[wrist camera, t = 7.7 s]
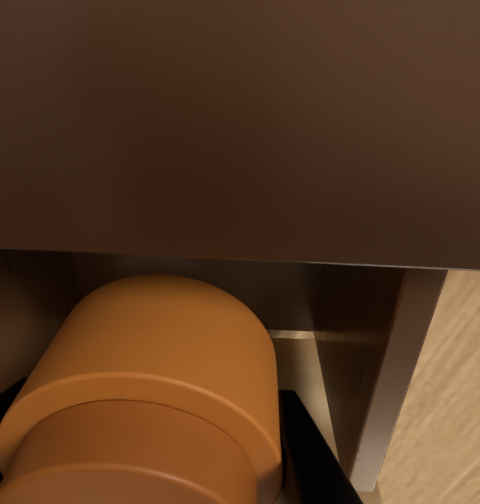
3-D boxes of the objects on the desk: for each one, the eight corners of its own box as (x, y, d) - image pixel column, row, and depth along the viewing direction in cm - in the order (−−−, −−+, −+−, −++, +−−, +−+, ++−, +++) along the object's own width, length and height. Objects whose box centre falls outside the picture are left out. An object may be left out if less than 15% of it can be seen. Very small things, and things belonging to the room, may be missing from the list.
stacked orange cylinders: (245, 446, 12) (241, 637, 8) (58, 411, 11) (-36, 597, 8) (304, 302, 9) (340, 485, 6) (65, 248, 9) (-73, 410, 5)
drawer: (323, 418, 21) (357, 610, 14) (83, 406, 21) (0, 591, 14) (396, 63, 13) (564, 107, 6) (2, 47, 13) (-289, 70, 6)
